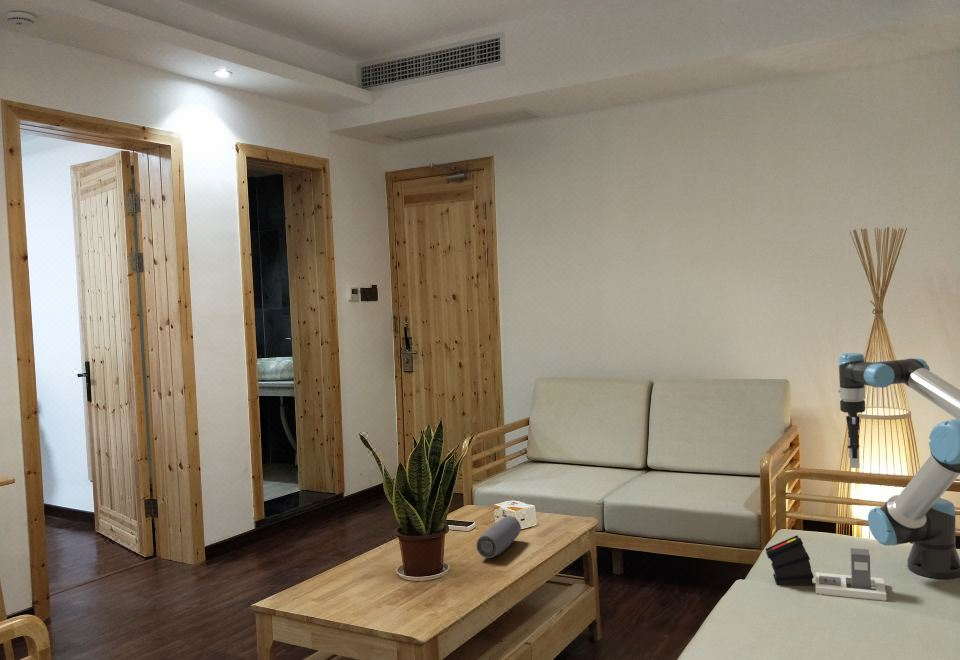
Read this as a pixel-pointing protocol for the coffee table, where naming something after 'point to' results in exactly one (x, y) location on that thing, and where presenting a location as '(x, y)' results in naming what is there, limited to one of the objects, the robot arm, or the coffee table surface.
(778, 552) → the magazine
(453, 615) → the coffee table surface
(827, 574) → the white flat rectangular frame
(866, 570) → the grey tall block
